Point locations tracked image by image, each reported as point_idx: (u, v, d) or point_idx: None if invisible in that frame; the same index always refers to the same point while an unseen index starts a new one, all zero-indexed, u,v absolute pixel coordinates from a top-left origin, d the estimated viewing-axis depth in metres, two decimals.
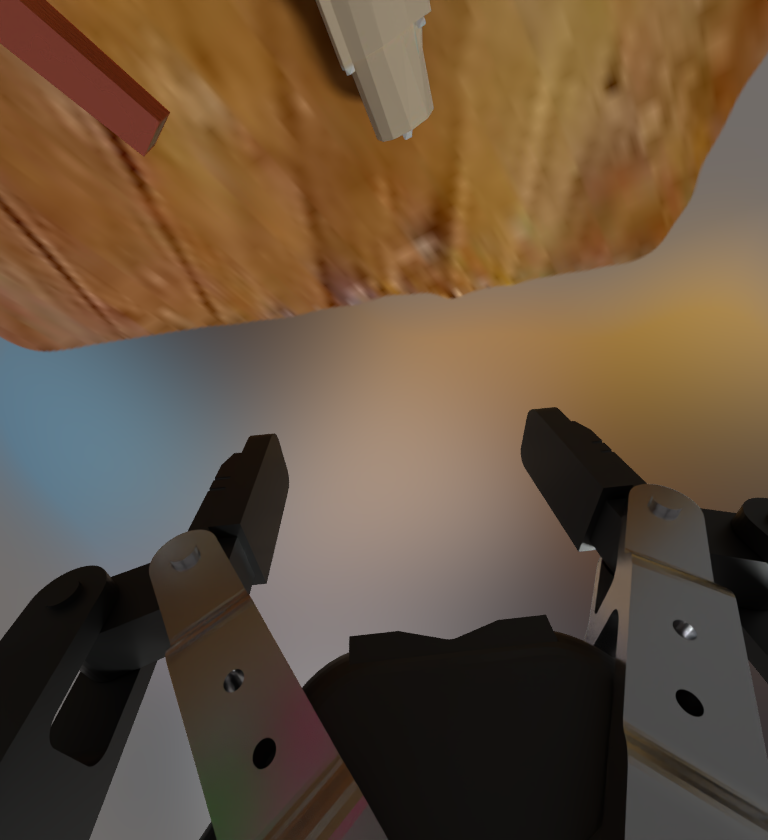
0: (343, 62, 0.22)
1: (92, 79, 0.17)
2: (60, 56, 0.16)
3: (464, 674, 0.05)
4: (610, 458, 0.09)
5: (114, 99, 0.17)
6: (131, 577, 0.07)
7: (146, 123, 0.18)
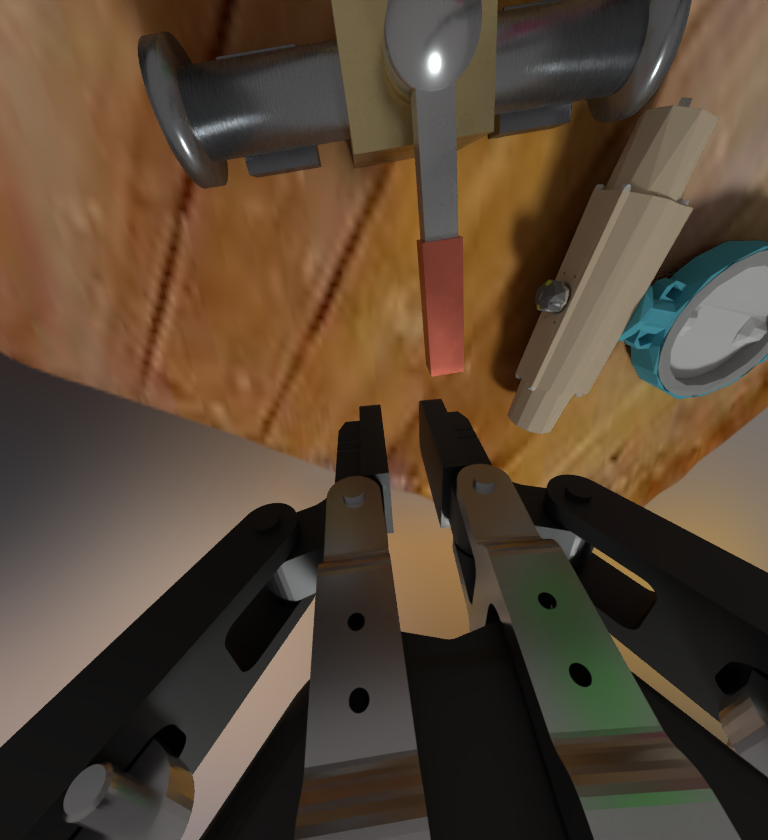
0: (533, 384, 0.31)
1: (453, 331, 0.21)
2: (450, 312, 0.20)
3: (464, 674, 0.05)
4: (471, 443, 0.10)
5: (453, 346, 0.22)
6: (303, 517, 0.08)
7: (455, 366, 0.22)
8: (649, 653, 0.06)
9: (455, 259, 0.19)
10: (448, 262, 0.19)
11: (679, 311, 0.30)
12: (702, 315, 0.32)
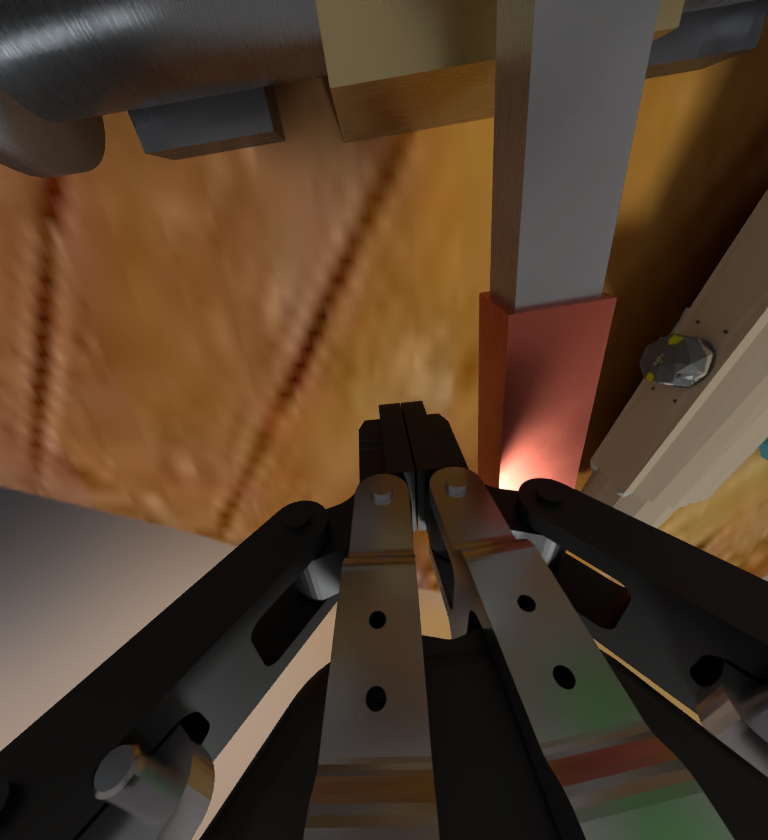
0: (627, 489, 0.20)
1: None
2: (554, 454, 0.09)
3: (464, 674, 0.05)
4: (449, 446, 0.10)
5: None
6: (330, 514, 0.08)
7: None
8: (626, 651, 0.06)
9: (586, 349, 0.07)
10: (568, 356, 0.07)
11: None
12: None
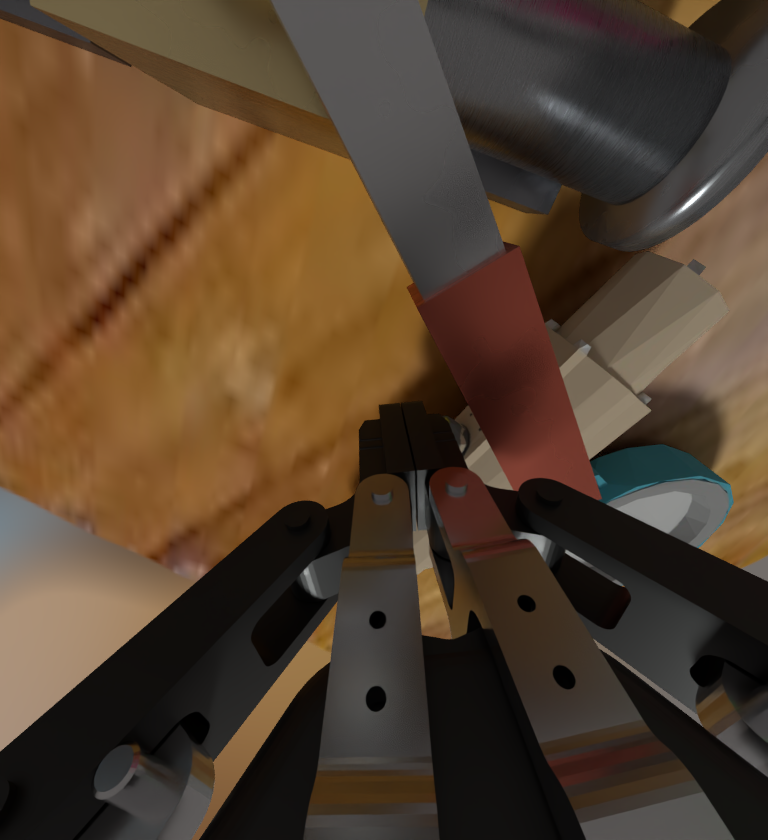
0: None
1: (557, 444, 0.09)
2: (539, 415, 0.09)
3: (464, 674, 0.05)
4: (449, 446, 0.10)
5: (565, 468, 0.10)
6: (330, 514, 0.08)
7: None
8: (626, 651, 0.06)
9: (516, 306, 0.07)
10: (500, 320, 0.07)
11: None
12: None
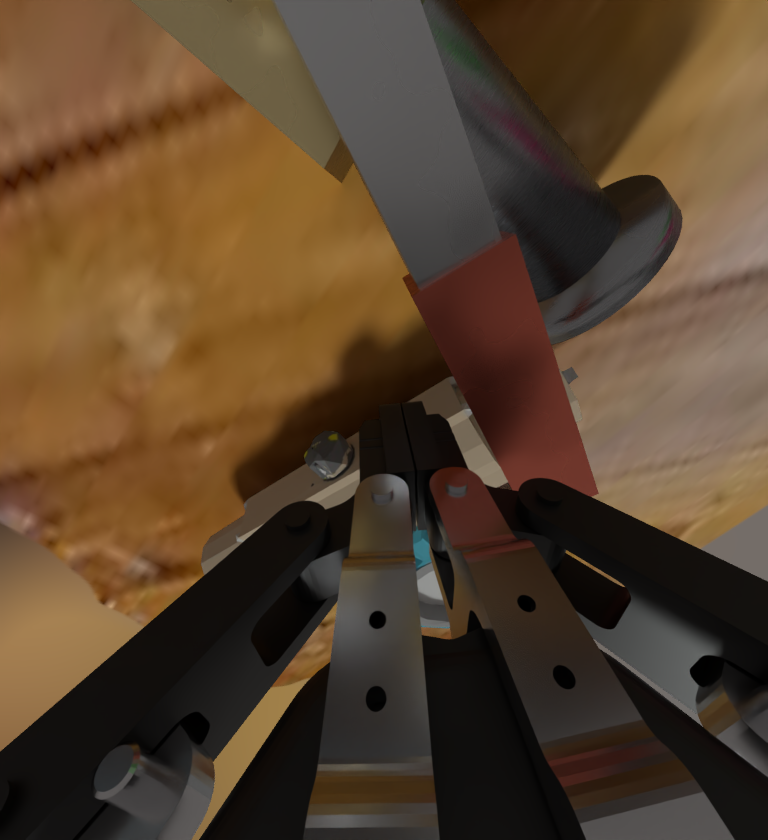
0: (242, 536, 0.21)
1: (554, 438, 0.09)
2: (536, 408, 0.08)
3: (464, 674, 0.05)
4: (449, 446, 0.10)
5: (561, 462, 0.09)
6: (330, 514, 0.08)
7: None
8: (626, 651, 0.06)
9: (512, 296, 0.07)
10: (496, 310, 0.07)
11: None
12: None
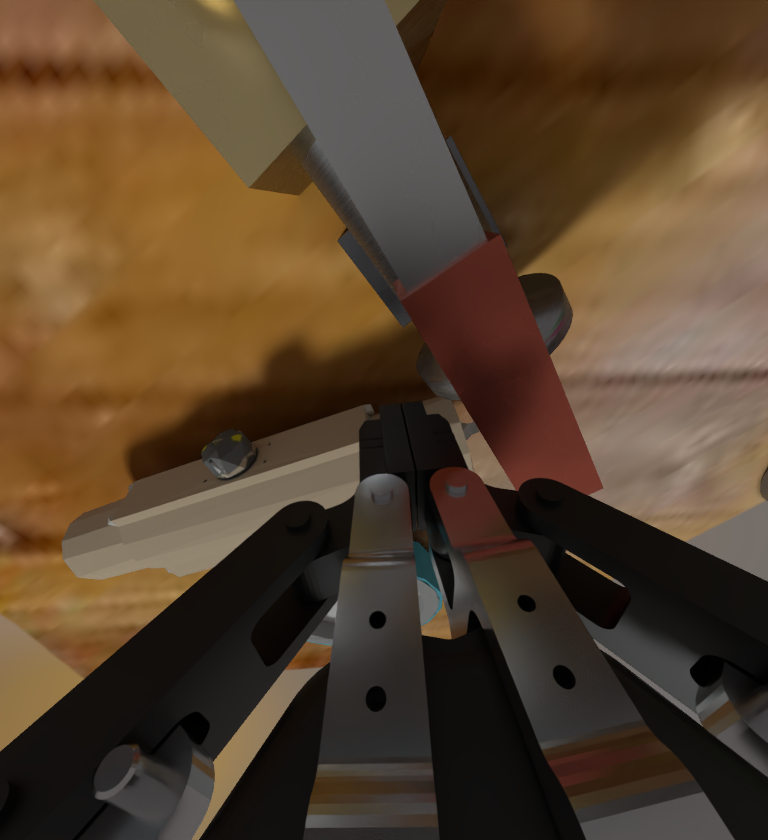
0: (115, 520, 0.19)
1: (554, 434, 0.09)
2: (533, 405, 0.08)
3: (464, 674, 0.05)
4: (449, 446, 0.10)
5: (563, 459, 0.09)
6: (330, 514, 0.08)
7: (581, 487, 0.10)
8: (626, 651, 0.06)
9: (501, 295, 0.07)
10: (485, 311, 0.07)
11: None
12: None
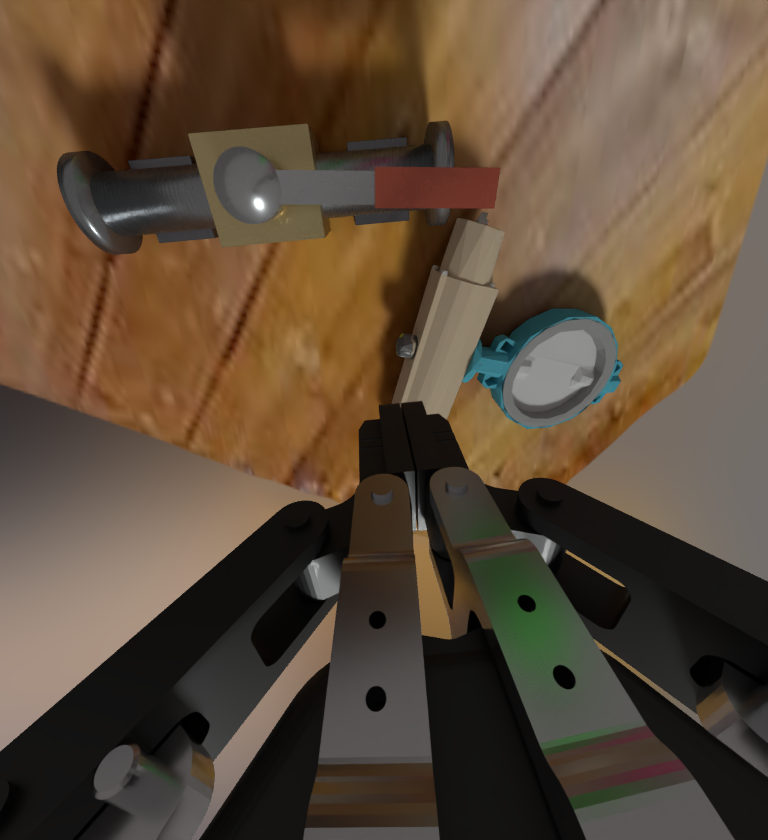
0: None
1: (455, 179, 0.22)
2: (436, 182, 0.22)
3: (464, 674, 0.05)
4: (450, 446, 0.10)
5: (470, 180, 0.22)
6: (330, 514, 0.08)
7: (491, 178, 0.22)
8: (626, 651, 0.06)
9: (391, 174, 0.21)
10: (393, 182, 0.22)
11: (511, 362, 0.38)
12: (538, 364, 0.40)
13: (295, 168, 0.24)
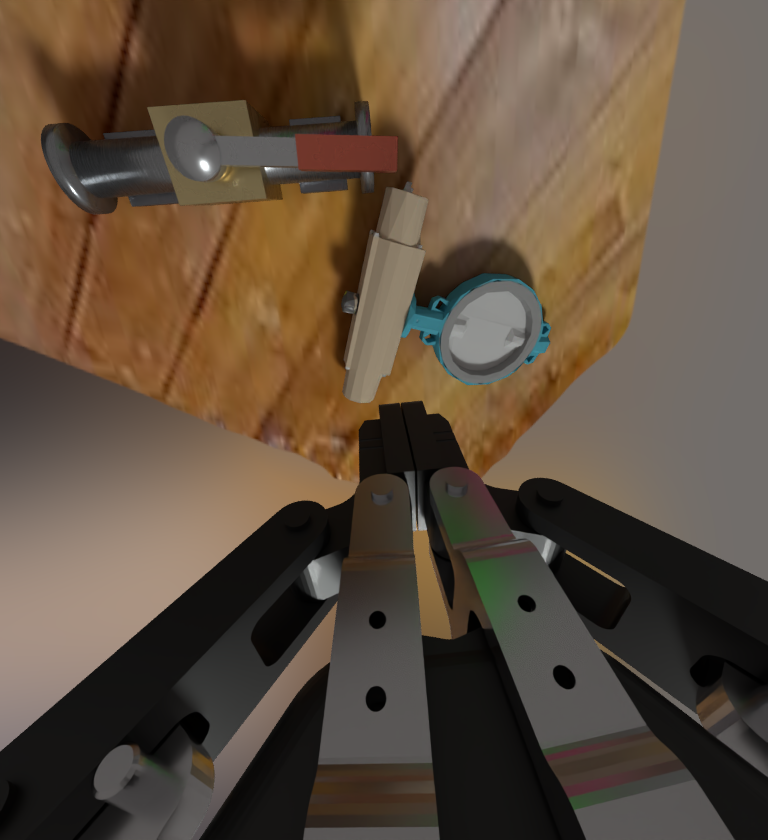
0: (346, 364, 0.44)
1: (362, 145, 0.27)
2: (346, 147, 0.27)
3: (464, 674, 0.05)
4: (449, 446, 0.10)
5: (374, 146, 0.27)
6: (330, 514, 0.08)
7: (392, 145, 0.27)
8: (626, 651, 0.06)
9: (309, 141, 0.26)
10: (311, 147, 0.27)
11: (445, 319, 0.43)
12: (472, 324, 0.45)
13: None
